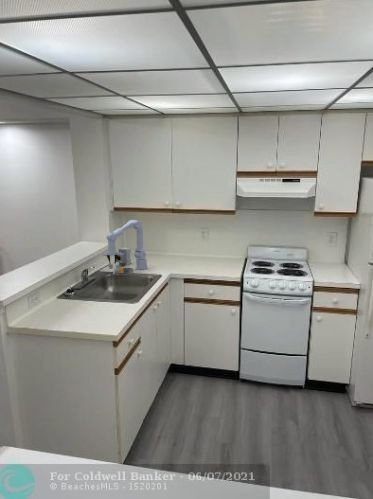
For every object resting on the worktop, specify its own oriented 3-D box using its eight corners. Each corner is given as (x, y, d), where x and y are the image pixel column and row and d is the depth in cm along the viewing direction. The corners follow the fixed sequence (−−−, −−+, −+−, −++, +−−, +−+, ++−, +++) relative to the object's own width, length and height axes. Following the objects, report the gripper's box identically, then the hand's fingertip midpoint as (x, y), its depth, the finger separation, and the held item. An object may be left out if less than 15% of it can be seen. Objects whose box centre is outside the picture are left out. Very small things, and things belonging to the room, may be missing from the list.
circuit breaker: (114, 266, 322) (114, 250, 318) (124, 262, 334) (124, 247, 331) (121, 267, 318) (120, 251, 315) (131, 263, 331) (130, 248, 327)
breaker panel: (133, 269, 314) (132, 264, 313) (132, 275, 296) (132, 270, 295) (114, 269, 312) (114, 264, 311) (112, 275, 294) (112, 270, 293)
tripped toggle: (123, 272, 298) (123, 267, 297) (123, 273, 296) (123, 268, 295) (119, 272, 298) (119, 267, 297) (119, 273, 295) (119, 268, 294)
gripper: (120, 246, 297) (121, 262, 300) (102, 247, 293) (103, 263, 296) (121, 248, 290) (121, 264, 293) (103, 249, 287) (103, 265, 290)
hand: (112, 263), depth 294 cm, fingers open, 3 cm apart
